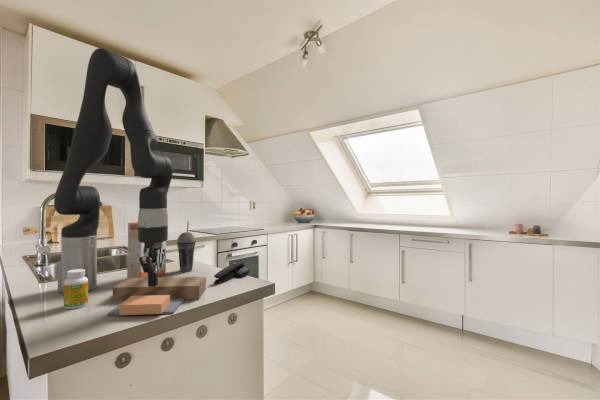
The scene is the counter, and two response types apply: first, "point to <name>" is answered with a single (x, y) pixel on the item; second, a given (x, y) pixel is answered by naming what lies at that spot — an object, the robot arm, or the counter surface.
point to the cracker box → (139, 254)
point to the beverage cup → (186, 250)
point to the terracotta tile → (144, 305)
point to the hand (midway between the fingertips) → (152, 285)
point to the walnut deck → (161, 288)
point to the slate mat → (169, 310)
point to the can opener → (231, 272)
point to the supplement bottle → (75, 289)
